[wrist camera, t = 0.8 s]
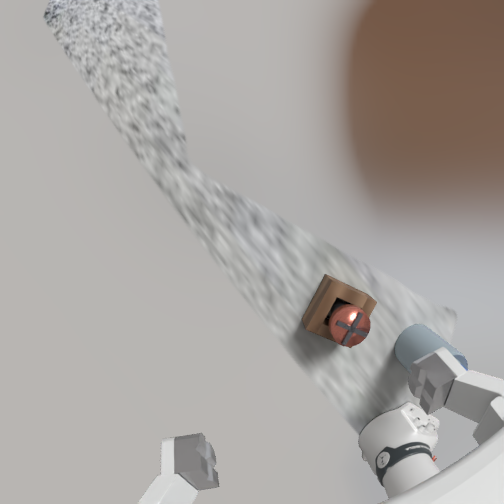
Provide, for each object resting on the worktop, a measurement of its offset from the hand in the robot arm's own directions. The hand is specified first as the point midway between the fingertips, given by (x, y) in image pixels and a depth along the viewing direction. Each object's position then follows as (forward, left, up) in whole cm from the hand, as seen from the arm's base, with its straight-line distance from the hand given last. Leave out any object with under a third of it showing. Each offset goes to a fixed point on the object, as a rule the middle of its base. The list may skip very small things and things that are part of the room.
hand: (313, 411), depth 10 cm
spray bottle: (-35, +4, -42) cm, 55 cm away
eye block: (-15, +4, -42) cm, 45 cm away
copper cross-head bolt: (-15, +4, -42) cm, 45 cm away
